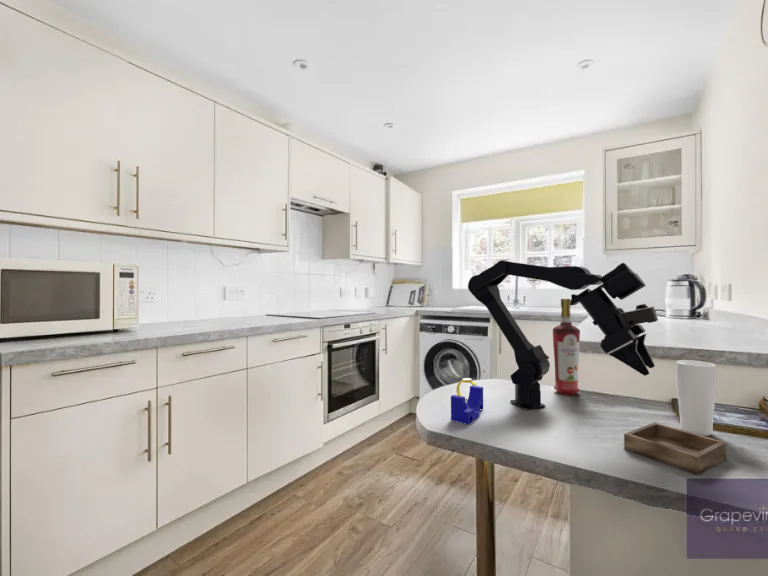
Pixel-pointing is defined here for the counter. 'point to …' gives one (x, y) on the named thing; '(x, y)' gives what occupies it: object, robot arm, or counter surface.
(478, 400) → the blue u-shaped holder
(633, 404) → the counter surface
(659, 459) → the walnut box
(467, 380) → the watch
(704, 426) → the drinking glass
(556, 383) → the liquor
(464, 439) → the counter surface
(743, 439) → the counter surface
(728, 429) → the counter surface
